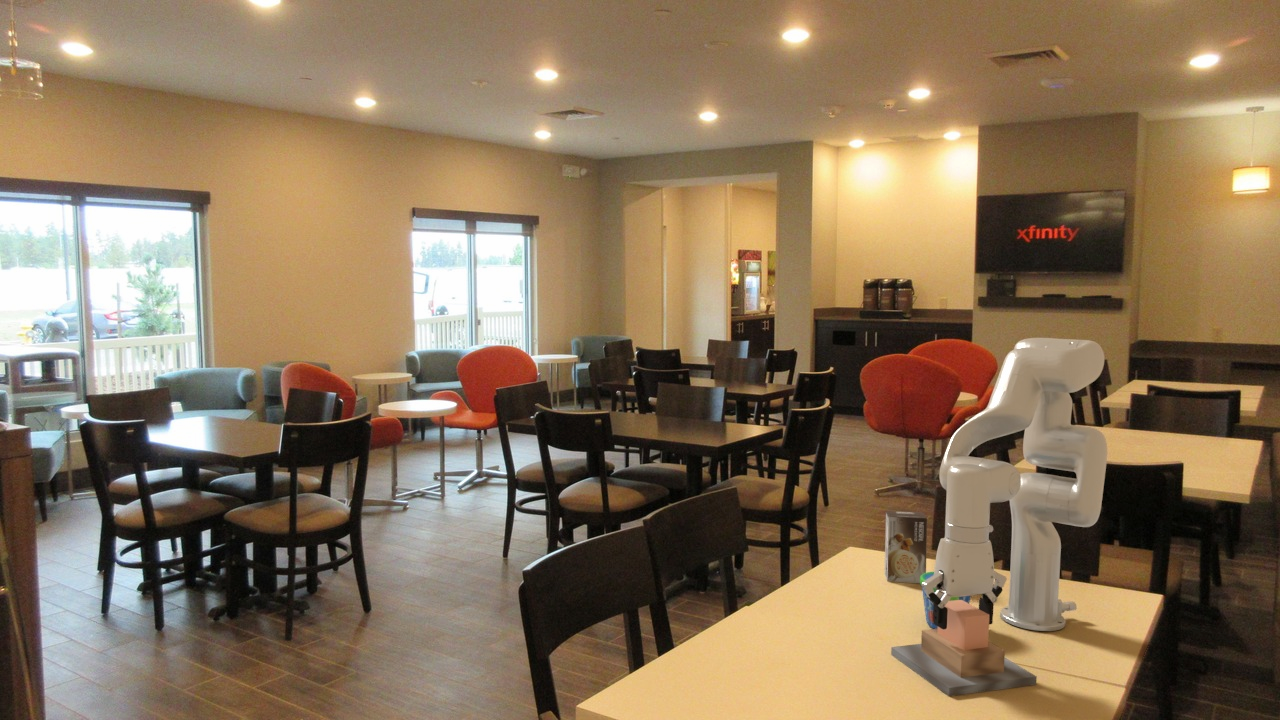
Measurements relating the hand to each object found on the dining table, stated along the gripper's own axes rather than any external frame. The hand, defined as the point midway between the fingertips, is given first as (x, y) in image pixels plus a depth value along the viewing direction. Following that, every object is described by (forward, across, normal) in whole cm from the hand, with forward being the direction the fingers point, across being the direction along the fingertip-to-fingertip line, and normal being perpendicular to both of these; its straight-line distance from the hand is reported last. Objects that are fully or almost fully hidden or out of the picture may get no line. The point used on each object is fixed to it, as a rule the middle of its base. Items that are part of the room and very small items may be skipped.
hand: (962, 624), depth 162 cm
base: (+8, 0, 0) cm, 8 cm away
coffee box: (+9, -19, -48) cm, 52 cm away
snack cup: (+9, -10, -19) cm, 23 cm away
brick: (+3, 0, 0) cm, 3 cm away
